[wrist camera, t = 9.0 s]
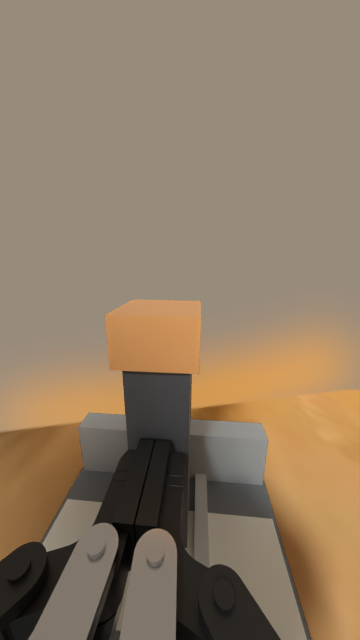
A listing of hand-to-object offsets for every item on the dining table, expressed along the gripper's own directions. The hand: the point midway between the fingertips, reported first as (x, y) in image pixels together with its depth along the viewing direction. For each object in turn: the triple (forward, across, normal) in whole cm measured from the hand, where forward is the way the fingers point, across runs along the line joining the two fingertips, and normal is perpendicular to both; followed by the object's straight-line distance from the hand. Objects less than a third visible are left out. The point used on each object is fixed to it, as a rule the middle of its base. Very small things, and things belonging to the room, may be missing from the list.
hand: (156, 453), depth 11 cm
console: (-5, 0, +8) cm, 9 cm away
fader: (+2, 0, +7) cm, 7 cm away
